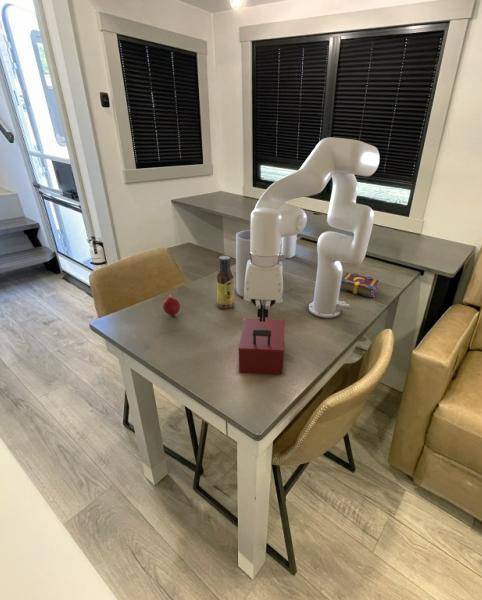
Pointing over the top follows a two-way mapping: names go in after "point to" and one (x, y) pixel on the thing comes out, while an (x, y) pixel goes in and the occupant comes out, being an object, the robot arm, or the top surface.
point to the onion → (171, 306)
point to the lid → (262, 335)
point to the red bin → (260, 362)
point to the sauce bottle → (225, 284)
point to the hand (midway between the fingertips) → (262, 318)
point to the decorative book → (359, 284)
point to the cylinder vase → (242, 259)
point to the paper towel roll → (289, 246)
